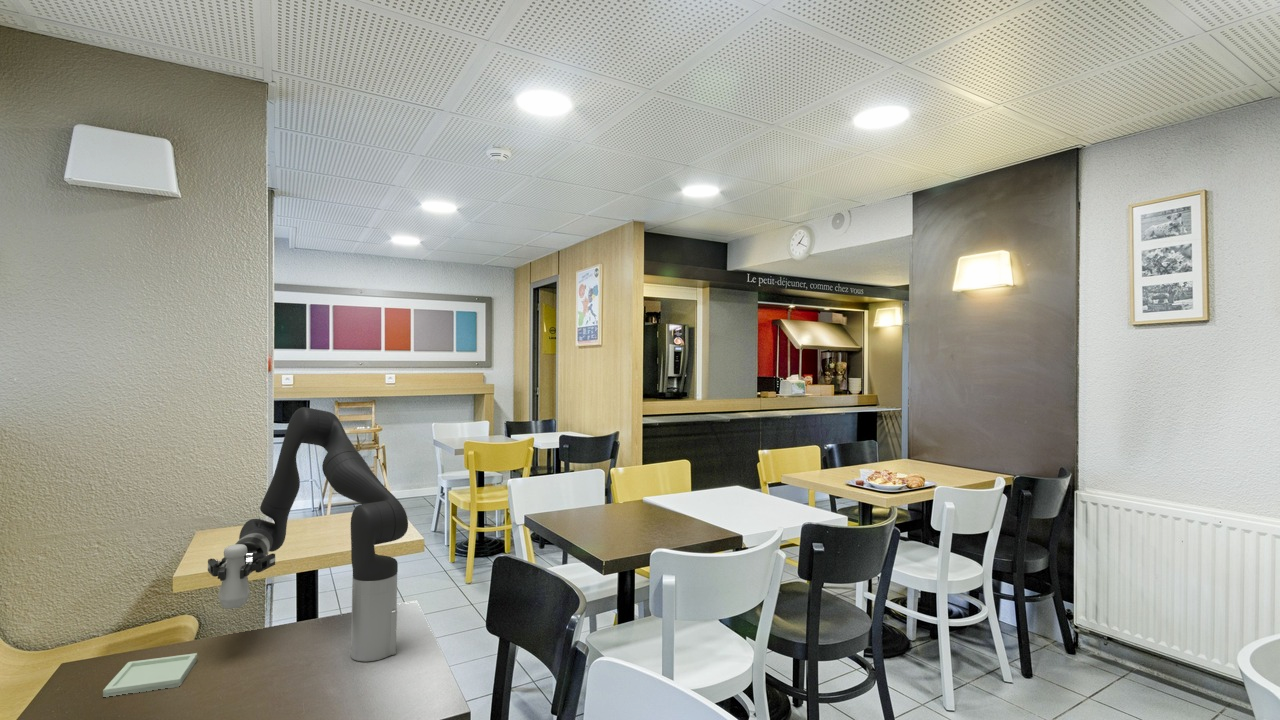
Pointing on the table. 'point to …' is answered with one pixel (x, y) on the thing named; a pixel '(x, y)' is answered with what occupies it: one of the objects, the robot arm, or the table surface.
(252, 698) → the table surface
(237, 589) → the salt shaker
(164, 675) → the tray
